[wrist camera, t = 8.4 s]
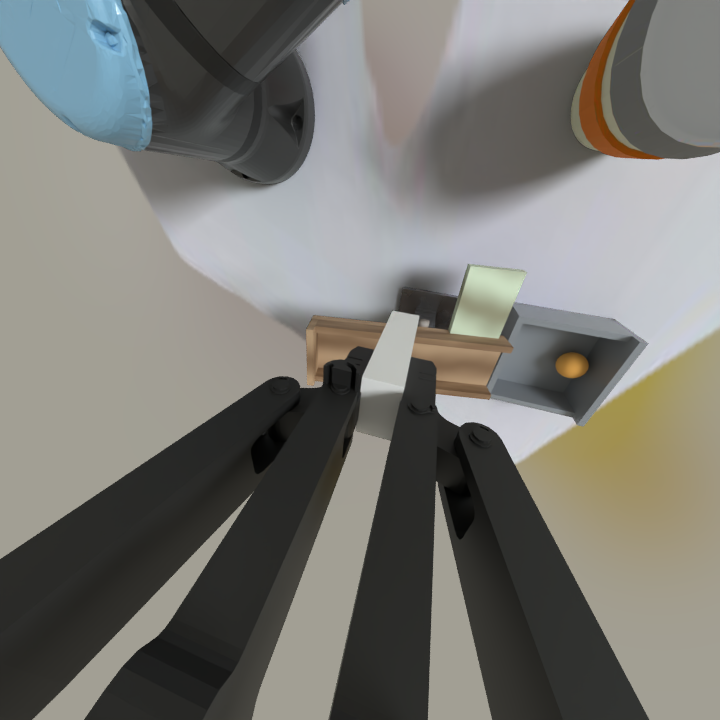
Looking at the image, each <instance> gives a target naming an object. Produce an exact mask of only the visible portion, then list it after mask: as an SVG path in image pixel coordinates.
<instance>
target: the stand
mask: <svg viewBox="0 0 720 720" xmlns="http://www.w3.org/2000/svg"><path fill="white" fill-rule="evenodd" d="M457 299H458V296H454V295H448V294H442V293H436V292H430V291H425V290H419V289H413V288H407V287H403V290H402V295H401V301H400V306H399V312H403V313H408V314H413V315H418V316H419V321H418V326H419V322H420V319H427V320H429V321H430V322H429V326H428V328H437V329H446V330H448V329H449V325H450V322H451V319H452V315H453V312H454V309H455V305H456V302H457Z"/></svg>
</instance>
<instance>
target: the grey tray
mask: <svg viewBox="0 0 720 720" xmlns="http://www.w3.org/2000/svg"><path fill="white" fill-rule="evenodd" d="M500 335H501V336H504V337H505V338H506V339H507V340H508V342H509V343H510V344H511V345H512V346H513V347H514V348H513V350H512V353H502V352H501V353H500V356H499V358H498V360H497V362H496V365H495V367H494V369H493V371H492V374H491V376H490V378H489V380H488V383H487V385H486V386H487V388H488V390H489V392H490V393H491V397H490V398H491V399H496V400H500V401H504V402H508V403H513V404H517V405H521V406H526V407H530V408H534V409H539V410H543V411H547V412H552V413H556V414H560V415H564V416H569V417H573V419H574V421H575V422H576V424H577V425H580V426H584V425H585V424H586V422H587V421H588V420H589V419H590V417H591V416H592V415H593V414H594V412H595V411H596V410H597V409H598V407H599V406H600V405H601V403H602V402H603V401H604V400H605V398H606V397H607V396H608V395H609V393H610V392H611V391H612V389H613V388H614V387H615V386H616V384H617V383H618V382H619V381H620V379H621V378H622V377H623V375H624V374H625V373H626V372H627V370H628V369H629V368H630V367H631V365H632V364H633V363H634V361H635V360H636V359H637V358H638V356H639V355H640V354H641V353H642V351H643V350H644V349H645V347H646V346H647V345H648V343H647V342H646V341H644V340H643V339H641V338H640V337H639V336H637V335H636V334H634V333H633V332H632V331H630V330H629V329H628V328H626V327H625V326H623V325H622V324H621V323H619V322H618V321H616V320H615V319H610V318H604V317H598V316H592V315H586V314H580V313H574V312H568V311H562V310H556V309H551V308H545V307H539V306H533V305H527V304H521V303H515V302H514V304H513V306H512V309H511V311H510V313H509V316H508V318H507V320H506V323H505V325H504V327H503V330H502V332H501V334H500ZM569 352H575V353H579V354H581V355H583V356H584V357H585V358H586V359H587V361H588V364H589V367H588V370H587V372H586V373H585V374H584V375H582V376H581V377H578V378H567V377H564V376H562V375H561V374H559V373H558V371H557V370H556V366H555V364H556V361H557V359H558V358H559V357H560V356H561V355H563V354H565V353H569Z"/></svg>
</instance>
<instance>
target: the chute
mask: <svg viewBox="0 0 720 720" xmlns="http://www.w3.org/2000/svg"><path fill="white" fill-rule="evenodd" d="M526 273H527V272H526V271H524V270H519V269H510V268H500V267H491V266H482V265H473V264H468V266H467V269H466V272H465V276H464V279H463V282H462V286H461V289H460V292H459V296H458V299H457V302H456V305H455V309H454V312H453V315H452V319H451V322H450V325H449V329H448V330H446V329H437V328H428V326H429V322H430V321H429V320H427V319H420V322H419V326H417V331H416V335H415V340H414V345H413V350H412V354H411V357H414V358H419V359H424V360H428V361H432V362H433V363H434V365H435V366H436V368H437V374H436V394H441V395H451V396H460V397H469V398H479V399H488V400H489V399H490V397H491V393H490V392H489V390H488V388H487V386H486V385H487V383H488V380H489V378H490V376H491V374H492V371H493V369H494V367H495V365H496V362H497V360H498V358H499V356H500V353H501V352H502V353H512V350H513V348H514V347H513V346H512V345H511V344H510V343H509V342H508V340H507V339H506V338H505V337H504V336H501V335H500V334H501V332H502V330H503V327H504V325H505V323H506V320H507V318H508V316H509V313H510V311H511V309H512V306H513V304H514V302H515V299H516V297H517V294H518V292H519V290H520V287H521V285H522V283H523V280H524V278H525V276H526ZM386 324H387V323H381V322H372V321H363V320H353V319H344V318H335V317H326V316H316V315H313V317H312V319H311V321H310V323H309V325H308V327H307V329H306V345H307V385H312V386H313V385H314V383H315V381H321V382H323V367H324V365H325V364H326V363H327V362H329V361H332V360H338V359H342V360H345V359H346V357H347V356H348V354H349V352H350V351H351V350H352V349H354V348H356V347H357V346H360V347H365V348H369V349H374V350H375V348H376V345H377V343H378V341H379V339H380V337H381V335H382V332H383V330H384V328H385V326H386Z"/></svg>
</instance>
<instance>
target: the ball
mask: <svg viewBox="0 0 720 720" xmlns="http://www.w3.org/2000/svg"><path fill="white" fill-rule="evenodd" d="M555 366H556V370H557V371H558V373H559V374H561V375H562V376H564V377H567V378H578V377H581V376H582V375H584V374H585V373H586V372H587V370H588V367H589V364H588V361H587V359H586V358H585V357H584V356H583V355H581V354H579V353H575V352H569V353H565V354H563V355H561V356H560V357H559V358H558V359H557V361H556V364H555Z"/></svg>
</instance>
